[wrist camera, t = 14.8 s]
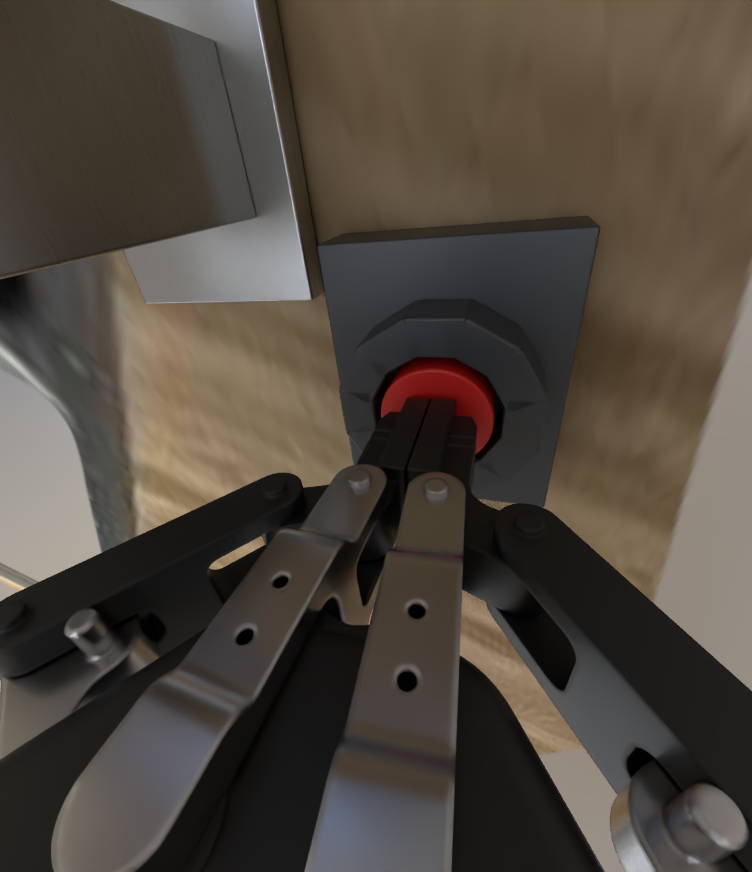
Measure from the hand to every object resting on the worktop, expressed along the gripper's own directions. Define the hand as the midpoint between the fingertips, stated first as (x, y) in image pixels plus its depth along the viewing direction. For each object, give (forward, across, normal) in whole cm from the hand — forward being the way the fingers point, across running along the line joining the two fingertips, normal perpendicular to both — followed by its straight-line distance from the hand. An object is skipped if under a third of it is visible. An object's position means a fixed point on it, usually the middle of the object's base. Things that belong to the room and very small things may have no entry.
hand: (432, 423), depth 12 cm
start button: (+2, 0, 0) cm, 2 cm away
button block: (+4, 0, 0) cm, 4 cm away
